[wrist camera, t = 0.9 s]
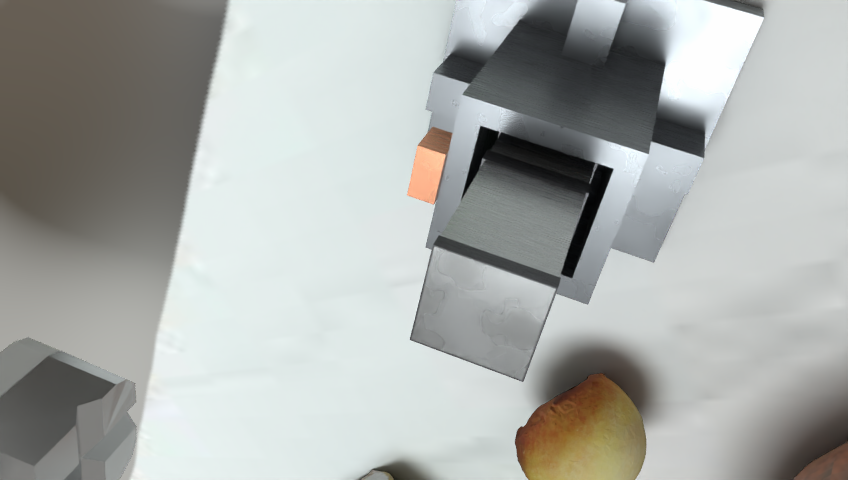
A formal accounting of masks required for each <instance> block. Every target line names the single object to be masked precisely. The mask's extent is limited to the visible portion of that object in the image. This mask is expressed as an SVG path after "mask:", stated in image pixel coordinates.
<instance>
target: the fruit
mask: <svg viewBox="0 0 848 480" xmlns="http://www.w3.org/2000/svg"><path fill="white" fill-rule="evenodd" d="M604 375H605V374H603V373H599V374H593V375H589V376H588V377H587V380H585V381H584V382H582V383H580V384H579V385H578V386H575V387H573V388H571V389H569V390H568V391H566V392H564V393H562V394H560V395H558V396H556V397H555V398H553V399H552V400H550V401H549V402H547V403H545V404H543V405H541V406H540V407H539V408H537V409H536V411H535V412H534V413H533V414H532V415H531V417H530V418H529V420H528V422H527V424H526V425H525V426H524V427H520V428H519V429H518V430H517V434H516V439H515V445H516V449H517V457H518V462H519V463H520V465H521V468H522V470H523V472H524V473H525V475H526V477H527V478H528V479H529V480H635V479H636V477H637V476H638V474H639V472H640V470H641V468H642V465H643V462H644V459H645V455H646V435H645V430H644V425H643V421H642V417H641V415H640V414H639V412H638V410H637V408H636V407H635V405H634V403H633V402H632V401H631V399H630V398H629V397H628V395H627V394H626V393H625V392H624V391H623V390H622V389H621V388H620V387H619V386H617V385H616V384H615V383H614V382H613V381H611V380H610V379H608V378H607V377H606V376H604Z"/></svg>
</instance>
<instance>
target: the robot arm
mask: <svg viewBox="0 0 848 480" xmlns="http://www.w3.org/2000/svg"><path fill="white" fill-rule="evenodd" d="M135 403H136V391H135V383H134V382H132V381H130V380H127V379H125V378H122V377H120V376H118V375H116V374H113V373H111V372H109V371H107V370H104V369H101V368H100V367H97V366H95V365H92V364H90V363H88V362H86V361H84V360H81V359H79V358H77V357H74V356H72V355H70V354H67V353H65V352H62V351H60V350H58V349H55V348H53V347H51V346H48V345H46V344H43V343H41V342H38V341H36V340H33V339H31V338H25V339H22V340H19V341H16V342H13V343H12V344H11V345H9V346H8V347H7V348H5V349H4V350H3V351H2V352H0V480H119V479H120V478H121V476H122V474H123V472H124V471H125V469H126V467H127V465H128V463H129V461H130V459H131V457H132V455H133V451H134V447H135V443H136V425H135V423H134V422H133V420H132V419H131V417H130V416H129V414H128V412H127V411H128V410H129V409H130V408H131V407H132V406H133V405H134V404H135Z"/></svg>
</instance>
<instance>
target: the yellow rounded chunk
mask: <svg viewBox="0 0 848 480" xmlns="http://www.w3.org/2000/svg"><path fill="white" fill-rule="evenodd" d="M361 480H394V479H393V477H392V476H391V475H390V474H389V473H387V472H386V471H385V472H380V471H375V470H372V471H371V472H370V473H369V474H368V475H367V476H365V477H363V478H362V479H361Z"/></svg>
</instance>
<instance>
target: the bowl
mask: <svg viewBox="0 0 848 480" xmlns="http://www.w3.org/2000/svg"><path fill="white" fill-rule="evenodd" d="M793 480H848V442H846V443H844V444H842V445H841V446H839V447H837V448H835V449H833V450H832V451H830V452H828V453H826V454H825V455H823V456H821V457H819V458H818V459H816V460H814V461H812V462H811V463H809V464H808V465H807V466H806V467H805V468H804V469H803V470H802V471H801V472H800V473H799V474H798V475H797V476H796V477H795V478H794V479H793Z"/></svg>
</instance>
